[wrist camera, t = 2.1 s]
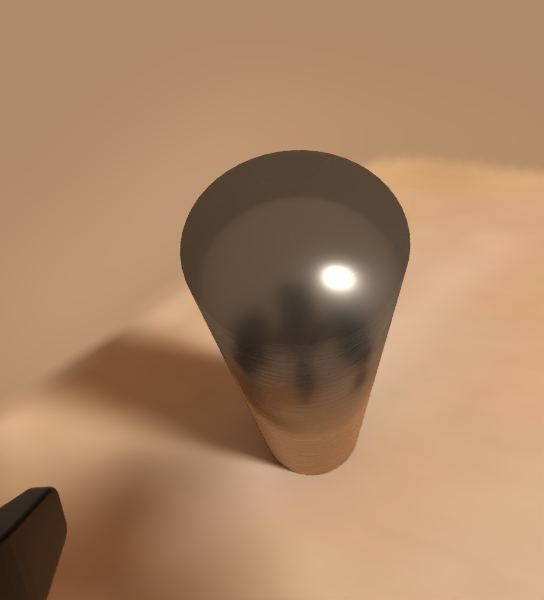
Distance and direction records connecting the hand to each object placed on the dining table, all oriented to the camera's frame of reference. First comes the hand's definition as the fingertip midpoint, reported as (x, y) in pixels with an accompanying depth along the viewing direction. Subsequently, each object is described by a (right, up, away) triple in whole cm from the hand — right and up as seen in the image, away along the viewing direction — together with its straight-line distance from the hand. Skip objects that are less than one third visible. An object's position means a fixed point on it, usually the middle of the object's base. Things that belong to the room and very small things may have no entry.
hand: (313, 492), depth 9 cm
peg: (+1, -2, +11) cm, 11 cm away
